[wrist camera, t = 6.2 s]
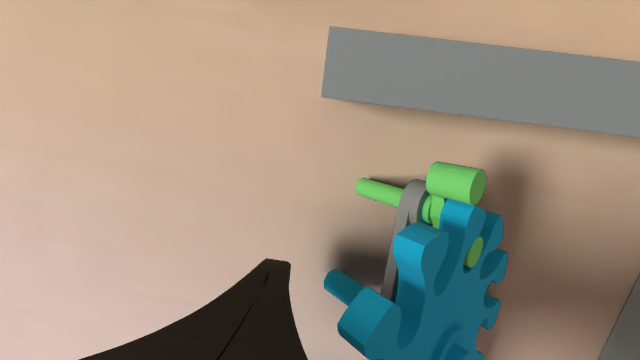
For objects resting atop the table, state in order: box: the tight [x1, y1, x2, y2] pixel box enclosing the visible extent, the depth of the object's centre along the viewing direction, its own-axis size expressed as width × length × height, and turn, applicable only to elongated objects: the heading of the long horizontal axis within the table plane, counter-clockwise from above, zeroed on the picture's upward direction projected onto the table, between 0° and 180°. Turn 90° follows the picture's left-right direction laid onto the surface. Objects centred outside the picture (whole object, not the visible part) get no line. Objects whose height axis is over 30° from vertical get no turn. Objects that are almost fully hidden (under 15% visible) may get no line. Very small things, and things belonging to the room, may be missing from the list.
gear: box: [324, 162, 508, 360], centre depth 11 cm, size 11×6×10 cm
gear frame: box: [321, 26, 640, 360], centre depth 12 cm, size 18×16×3 cm
